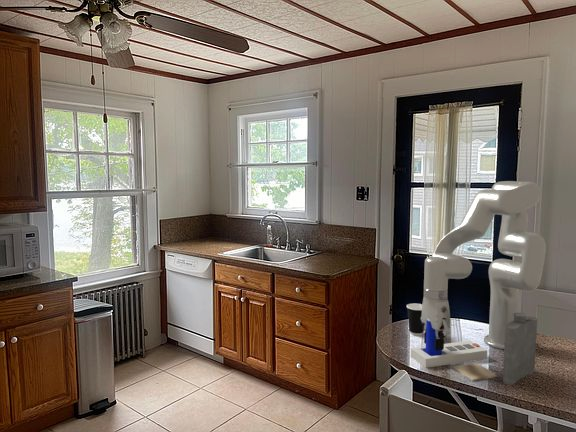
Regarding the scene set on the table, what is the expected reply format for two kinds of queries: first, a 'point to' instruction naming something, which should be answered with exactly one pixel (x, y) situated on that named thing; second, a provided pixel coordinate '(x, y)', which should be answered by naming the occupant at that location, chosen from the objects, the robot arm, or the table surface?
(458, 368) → the coaster pad
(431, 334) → the beverage can
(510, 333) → the hip flask
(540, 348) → the table surface
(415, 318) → the dixie cup
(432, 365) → the power strip
